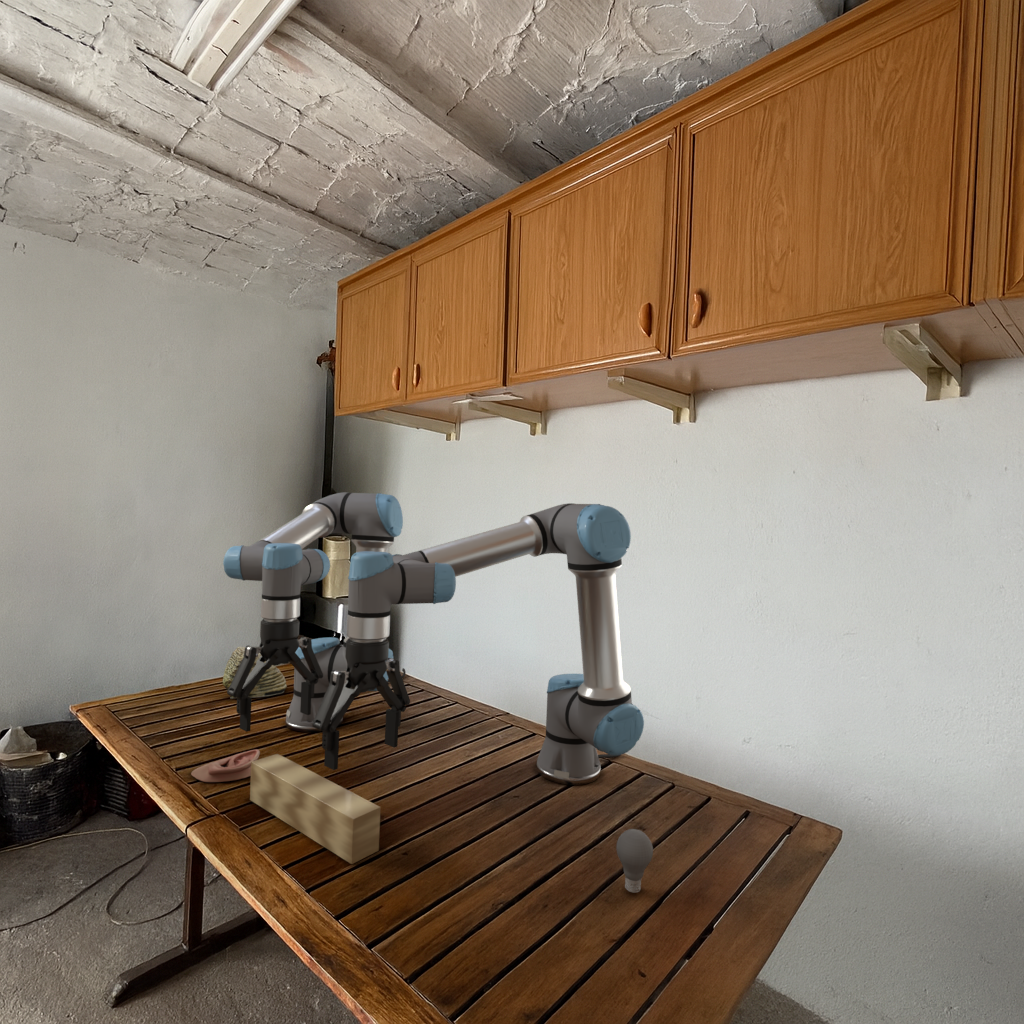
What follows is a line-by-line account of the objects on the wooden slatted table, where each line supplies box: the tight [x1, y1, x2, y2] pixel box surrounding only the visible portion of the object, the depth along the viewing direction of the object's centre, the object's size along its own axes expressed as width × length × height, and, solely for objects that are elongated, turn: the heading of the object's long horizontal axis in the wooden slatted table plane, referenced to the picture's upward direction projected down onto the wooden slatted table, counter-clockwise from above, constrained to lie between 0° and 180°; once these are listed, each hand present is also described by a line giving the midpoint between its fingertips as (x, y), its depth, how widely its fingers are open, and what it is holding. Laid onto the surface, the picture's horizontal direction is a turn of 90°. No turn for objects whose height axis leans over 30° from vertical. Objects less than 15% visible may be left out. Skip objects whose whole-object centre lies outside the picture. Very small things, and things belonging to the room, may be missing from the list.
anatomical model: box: [190, 748, 261, 783], centre depth 143 cm, size 13×4×12 cm
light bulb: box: [615, 828, 654, 894], centre depth 106 cm, size 6×6×10 cm
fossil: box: [222, 646, 288, 699], centre depth 198 cm, size 9×18×15 cm, turn 132°
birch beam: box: [249, 753, 381, 865], centre depth 123 cm, size 34×6×8 cm, turn 51°
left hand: (276, 721), depth 131 cm, fingers open, 13 cm apart
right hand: (362, 755), depth 114 cm, fingers open, 13 cm apart
